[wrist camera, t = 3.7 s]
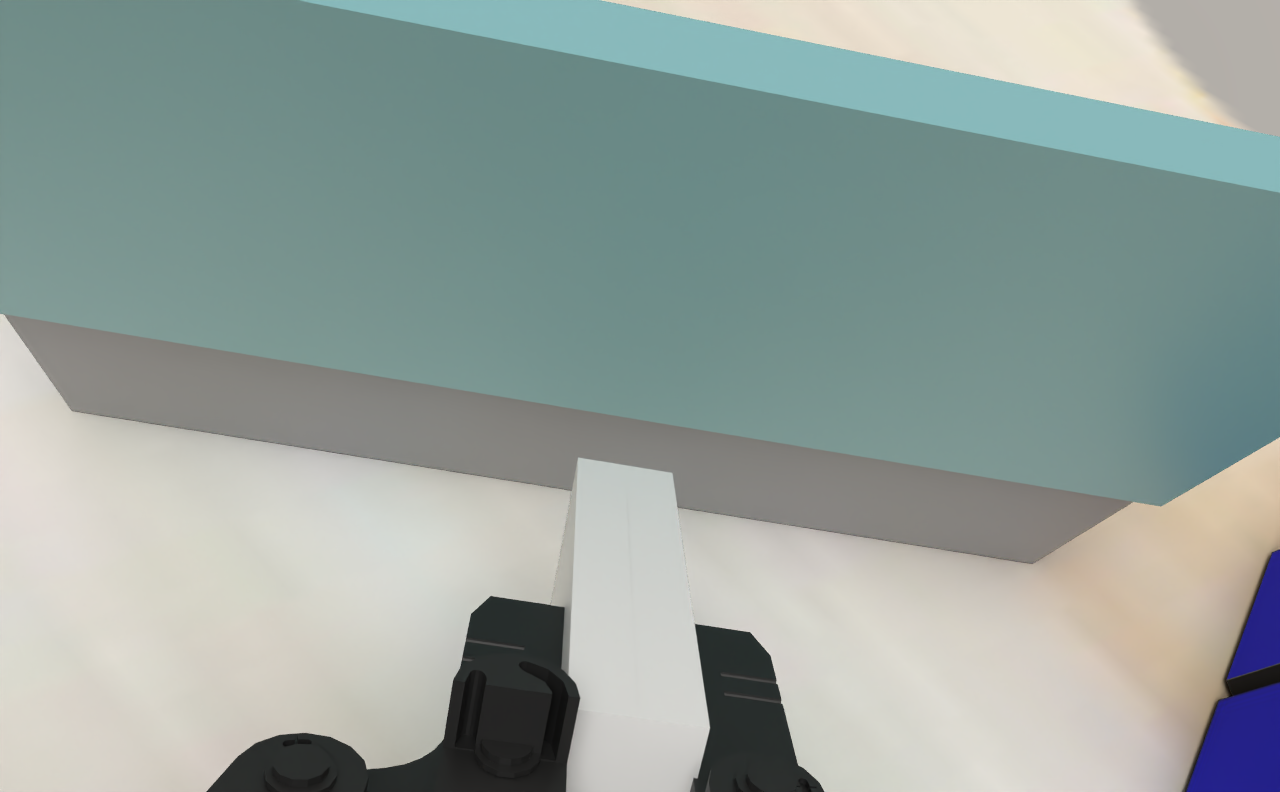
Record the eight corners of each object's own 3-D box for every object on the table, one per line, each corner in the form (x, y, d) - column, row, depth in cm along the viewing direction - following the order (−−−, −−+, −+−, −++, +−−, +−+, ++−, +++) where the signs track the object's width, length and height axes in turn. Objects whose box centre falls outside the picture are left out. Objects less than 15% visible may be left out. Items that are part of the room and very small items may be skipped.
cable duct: (1032, 563, 32) (1151, 490, 27) (71, 410, 30) (-9, 296, 24) (1019, 233, 37) (1119, 115, 32) (189, 77, 35) (144, -80, 29)
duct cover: (1157, 465, 27) (1161, 506, 26) (-6, 268, 24) (-23, 309, 24) (1576, 196, 17) (1593, 254, 17) (-308, -182, 14) (-345, -126, 14)
